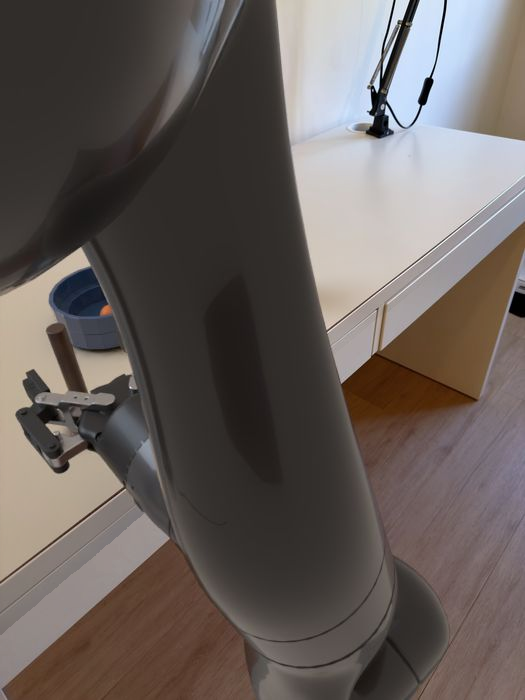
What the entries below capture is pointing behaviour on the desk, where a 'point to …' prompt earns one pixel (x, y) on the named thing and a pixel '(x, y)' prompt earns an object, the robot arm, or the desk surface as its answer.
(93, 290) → the bowl
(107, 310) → the bead
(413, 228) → the desk surface
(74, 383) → the stick
